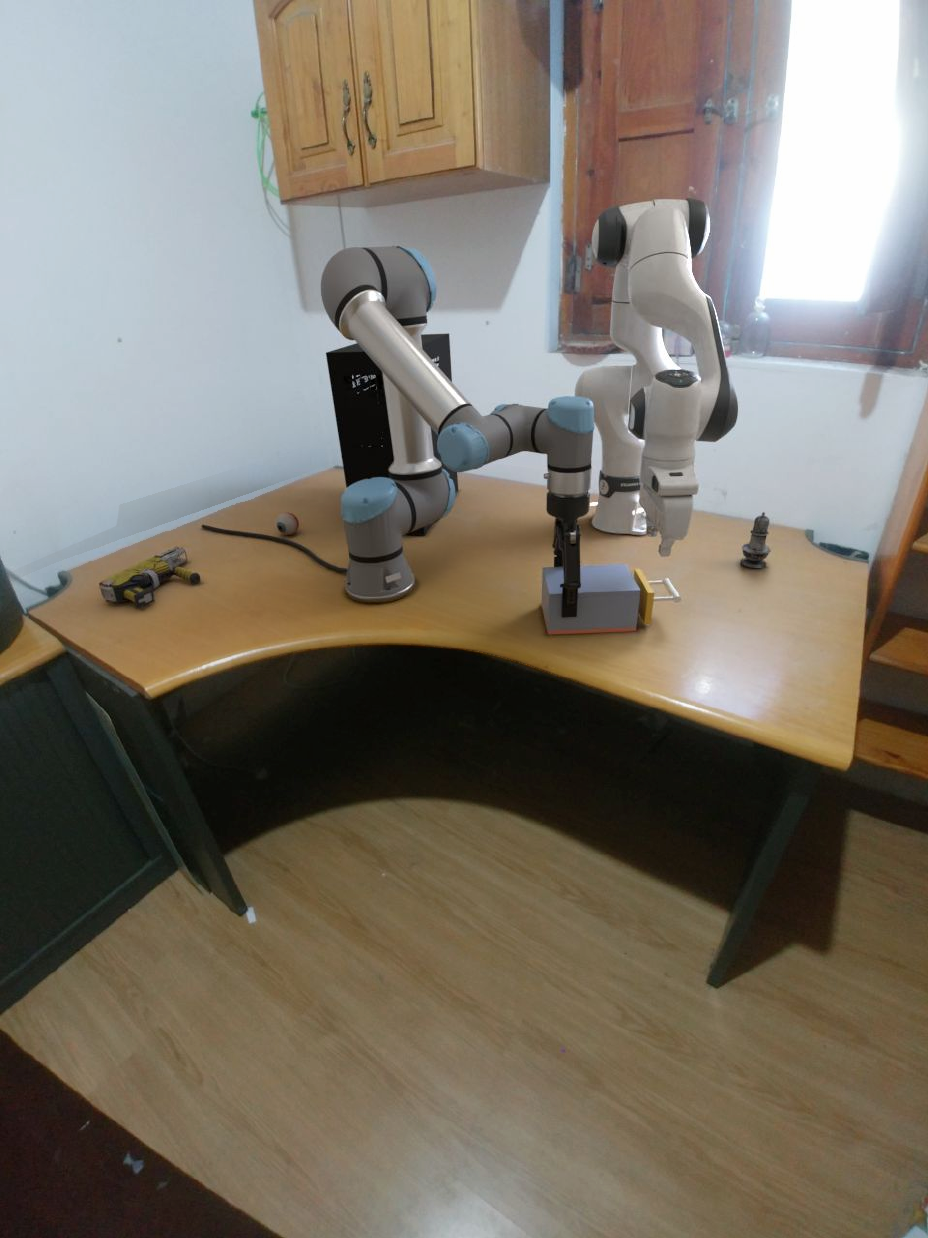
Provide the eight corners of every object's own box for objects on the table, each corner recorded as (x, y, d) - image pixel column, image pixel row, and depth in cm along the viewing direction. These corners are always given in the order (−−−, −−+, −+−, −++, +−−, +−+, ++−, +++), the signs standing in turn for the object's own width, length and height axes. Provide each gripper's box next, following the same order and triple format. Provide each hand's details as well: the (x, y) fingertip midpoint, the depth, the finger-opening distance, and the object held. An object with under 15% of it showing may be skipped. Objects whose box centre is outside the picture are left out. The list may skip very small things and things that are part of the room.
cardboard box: (424, 535, 159) (408, 350, 137) (353, 532, 164) (325, 352, 141) (458, 489, 191) (449, 333, 168) (397, 488, 195) (380, 335, 173)
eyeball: (273, 537, 164) (268, 516, 161) (287, 528, 169) (282, 508, 166) (291, 539, 161) (286, 518, 158) (305, 530, 166) (301, 510, 163)
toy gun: (223, 554, 147) (173, 544, 151) (148, 595, 127) (92, 582, 131) (226, 572, 149) (177, 561, 153) (152, 615, 129) (97, 601, 133)
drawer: (664, 597, 122) (668, 567, 118) (680, 623, 113) (684, 591, 110) (561, 602, 122) (562, 572, 119) (569, 627, 113) (570, 596, 110)
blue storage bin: (622, 602, 123) (625, 563, 119) (636, 630, 113) (640, 590, 109) (541, 605, 123) (542, 567, 119) (548, 634, 114) (549, 594, 109)
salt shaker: (770, 569, 132) (782, 517, 126) (741, 568, 133) (751, 516, 127) (764, 558, 137) (775, 507, 131) (736, 557, 138) (746, 507, 132)
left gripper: (539, 472, 116) (538, 574, 127) (555, 516, 95) (552, 633, 106) (578, 470, 116) (574, 573, 126) (603, 513, 95) (595, 631, 106)
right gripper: (634, 456, 114) (628, 525, 121) (662, 489, 97) (653, 568, 103) (668, 455, 114) (660, 524, 121) (702, 487, 96) (690, 566, 103)
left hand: (564, 600), depth 116 cm, fingers closed on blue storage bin, 11 cm apart
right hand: (657, 544), depth 112 cm, fingers open, 8 cm apart
